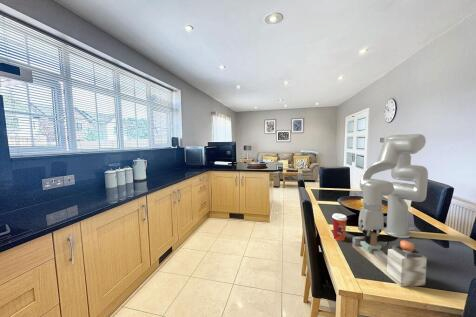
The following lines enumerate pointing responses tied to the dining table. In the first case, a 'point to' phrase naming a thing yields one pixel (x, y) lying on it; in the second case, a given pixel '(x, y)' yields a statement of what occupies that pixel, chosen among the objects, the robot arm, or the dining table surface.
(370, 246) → the carriage
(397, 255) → the track
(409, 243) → the button
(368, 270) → the dining table surface
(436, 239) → the dining table surface
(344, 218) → the paper cup
